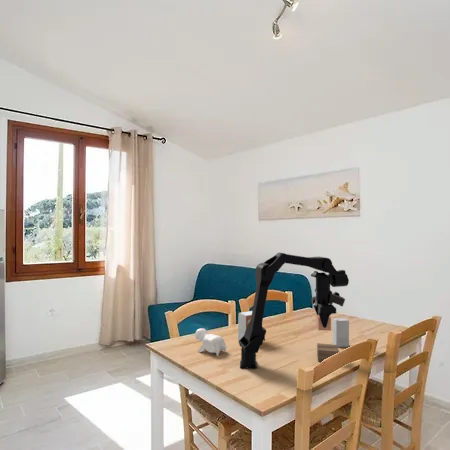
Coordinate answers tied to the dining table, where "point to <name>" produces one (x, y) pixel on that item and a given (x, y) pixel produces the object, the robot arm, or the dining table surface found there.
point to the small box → (243, 322)
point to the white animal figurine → (210, 342)
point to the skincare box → (341, 332)
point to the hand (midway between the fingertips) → (323, 325)
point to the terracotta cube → (319, 324)
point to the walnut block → (326, 351)
